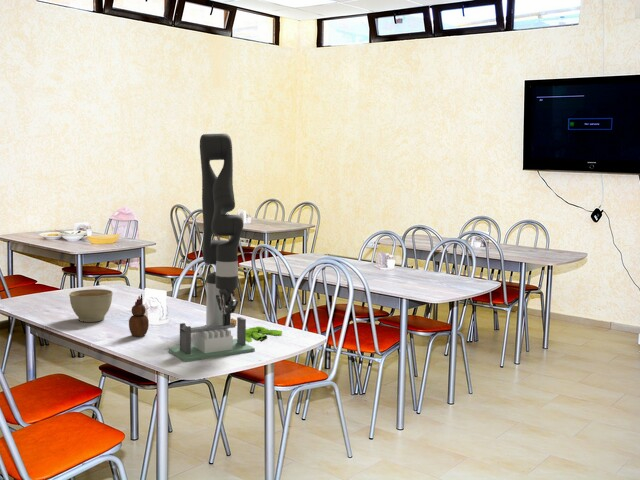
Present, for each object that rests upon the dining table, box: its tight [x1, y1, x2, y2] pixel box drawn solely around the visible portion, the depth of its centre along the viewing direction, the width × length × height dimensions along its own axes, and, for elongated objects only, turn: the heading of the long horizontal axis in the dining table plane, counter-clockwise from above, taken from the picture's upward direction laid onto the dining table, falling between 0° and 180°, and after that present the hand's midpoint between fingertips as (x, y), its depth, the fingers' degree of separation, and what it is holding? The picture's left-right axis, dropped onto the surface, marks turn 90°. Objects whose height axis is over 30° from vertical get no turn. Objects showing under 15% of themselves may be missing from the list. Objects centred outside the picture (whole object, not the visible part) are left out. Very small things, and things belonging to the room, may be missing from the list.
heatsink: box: [168, 316, 256, 363], centre depth 237 cm, size 14×25×10 cm, turn 123°
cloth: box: [246, 326, 283, 343], centre depth 259 cm, size 20×22×2 cm
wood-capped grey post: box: [181, 317, 237, 334], centre depth 236 cm, size 19×3×2 cm, turn 123°
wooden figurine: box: [128, 293, 150, 337], centre depth 254 cm, size 7×6×15 cm
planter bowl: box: [68, 288, 113, 323], centre depth 276 cm, size 16×16×11 cm
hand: (226, 324), depth 239 cm, fingers closed
